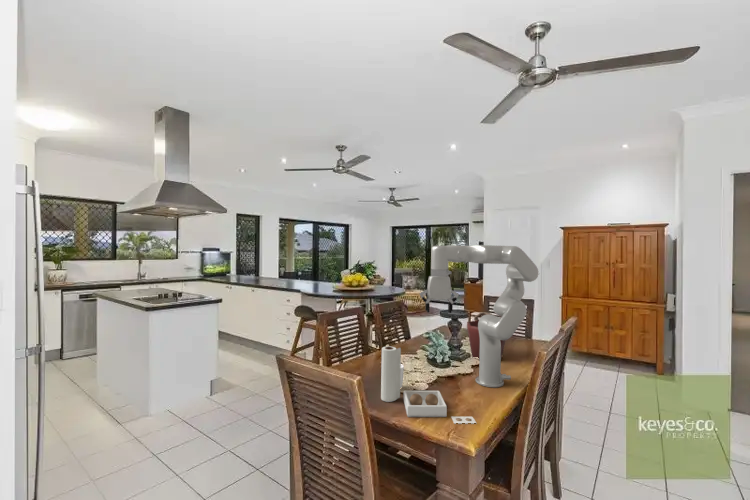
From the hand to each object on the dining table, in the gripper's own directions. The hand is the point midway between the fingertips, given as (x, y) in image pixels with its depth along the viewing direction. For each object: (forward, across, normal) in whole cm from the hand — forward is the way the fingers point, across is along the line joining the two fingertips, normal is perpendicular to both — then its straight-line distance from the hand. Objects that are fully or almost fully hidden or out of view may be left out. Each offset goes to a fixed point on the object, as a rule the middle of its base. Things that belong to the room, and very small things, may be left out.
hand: (438, 312), depth 164 cm
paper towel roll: (+34, +22, +11) cm, 42 cm away
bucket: (+34, -38, -48) cm, 70 cm away
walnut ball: (+31, +12, +19) cm, 39 cm away
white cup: (+34, +19, -1) cm, 39 cm away
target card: (+34, -4, +29) cm, 45 cm away
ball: (+31, +6, +19) cm, 37 cm away
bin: (+34, +9, +19) cm, 40 cm away
